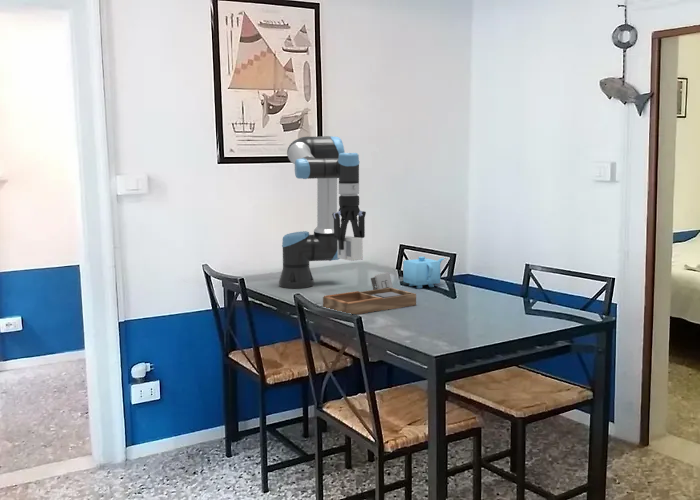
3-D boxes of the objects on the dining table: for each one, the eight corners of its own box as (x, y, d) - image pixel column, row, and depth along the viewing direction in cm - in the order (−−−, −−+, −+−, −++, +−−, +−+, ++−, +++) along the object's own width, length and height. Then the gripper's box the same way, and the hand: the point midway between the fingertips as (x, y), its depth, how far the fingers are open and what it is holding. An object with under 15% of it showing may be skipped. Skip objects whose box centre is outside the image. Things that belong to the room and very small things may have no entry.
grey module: (370, 305, 294) (370, 293, 294) (392, 302, 299) (392, 291, 299) (383, 309, 286) (383, 297, 286) (405, 306, 291) (405, 294, 291)
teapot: (419, 290, 321) (419, 260, 319) (400, 284, 335) (400, 255, 333) (454, 286, 329) (454, 256, 328) (434, 280, 343) (434, 252, 341)
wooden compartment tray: (322, 308, 287) (322, 296, 286) (390, 298, 305) (390, 286, 304) (346, 316, 274) (346, 303, 273) (416, 305, 292) (416, 292, 291)
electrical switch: (381, 298, 306) (379, 275, 305) (370, 297, 309) (369, 275, 308) (394, 294, 313) (392, 272, 312) (384, 294, 316) (382, 272, 316)
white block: (337, 258, 286) (336, 236, 285) (347, 257, 288) (347, 236, 287) (352, 260, 277) (351, 239, 276) (362, 259, 280) (362, 238, 279)
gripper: (334, 196, 272) (335, 261, 275) (374, 194, 282) (375, 257, 284) (323, 195, 278) (324, 258, 281) (363, 193, 288) (363, 254, 291)
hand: (349, 257), depth 283 cm, fingers closed on white block, 5 cm apart
